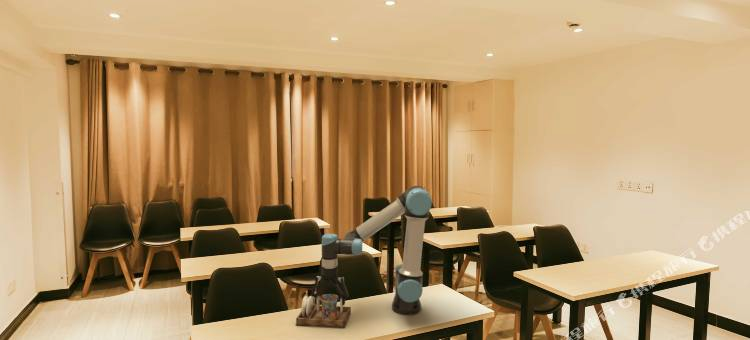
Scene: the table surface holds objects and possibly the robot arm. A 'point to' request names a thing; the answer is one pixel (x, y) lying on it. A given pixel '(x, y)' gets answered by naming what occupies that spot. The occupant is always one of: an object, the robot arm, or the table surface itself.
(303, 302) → the plates
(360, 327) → the table surface
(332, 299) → the mug
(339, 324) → the rack
